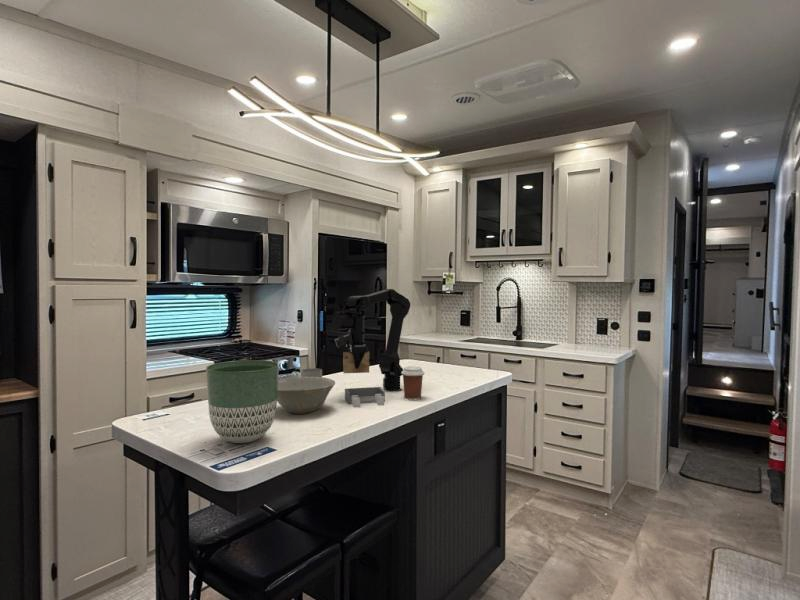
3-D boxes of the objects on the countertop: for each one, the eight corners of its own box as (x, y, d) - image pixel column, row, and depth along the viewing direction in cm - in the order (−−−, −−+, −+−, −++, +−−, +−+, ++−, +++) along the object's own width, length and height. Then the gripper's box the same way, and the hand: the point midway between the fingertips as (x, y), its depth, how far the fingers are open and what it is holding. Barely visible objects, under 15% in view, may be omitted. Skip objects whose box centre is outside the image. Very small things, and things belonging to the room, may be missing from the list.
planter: (191, 443, 130) (190, 367, 130) (247, 426, 147) (247, 358, 146) (238, 457, 120) (238, 374, 119) (293, 436, 137) (293, 363, 136)
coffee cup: (398, 396, 187) (398, 366, 187) (419, 394, 190) (419, 365, 190) (405, 401, 178) (405, 370, 178) (427, 400, 181) (427, 369, 181)
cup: (319, 397, 184) (319, 372, 184) (298, 397, 185) (298, 372, 184) (323, 392, 193) (323, 368, 193) (303, 392, 193) (303, 368, 193)
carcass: (380, 396, 186) (380, 386, 186) (387, 404, 174) (387, 394, 174) (344, 398, 182) (344, 388, 182) (349, 407, 170) (350, 396, 170)
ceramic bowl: (255, 416, 158) (255, 386, 158) (293, 400, 180) (293, 374, 180) (312, 423, 151) (312, 392, 150) (345, 405, 172) (345, 378, 172)
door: (368, 371, 186) (368, 351, 186) (369, 372, 184) (369, 352, 184) (343, 372, 184) (343, 352, 184) (344, 373, 181) (344, 353, 181)
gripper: (333, 326, 191) (333, 364, 191) (338, 330, 173) (338, 373, 173) (360, 326, 193) (360, 363, 194) (368, 330, 175) (368, 372, 176)
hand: (356, 367), depth 184 cm, fingers closed on door, 2 cm apart
